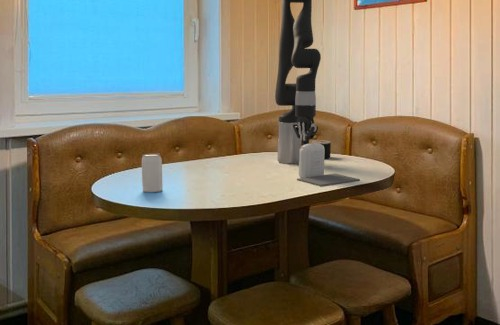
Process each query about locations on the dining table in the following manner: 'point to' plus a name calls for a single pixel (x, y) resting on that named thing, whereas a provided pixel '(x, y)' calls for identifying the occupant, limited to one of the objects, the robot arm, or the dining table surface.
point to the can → (152, 172)
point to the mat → (328, 179)
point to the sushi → (327, 147)
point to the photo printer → (311, 160)
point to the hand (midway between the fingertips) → (305, 150)
